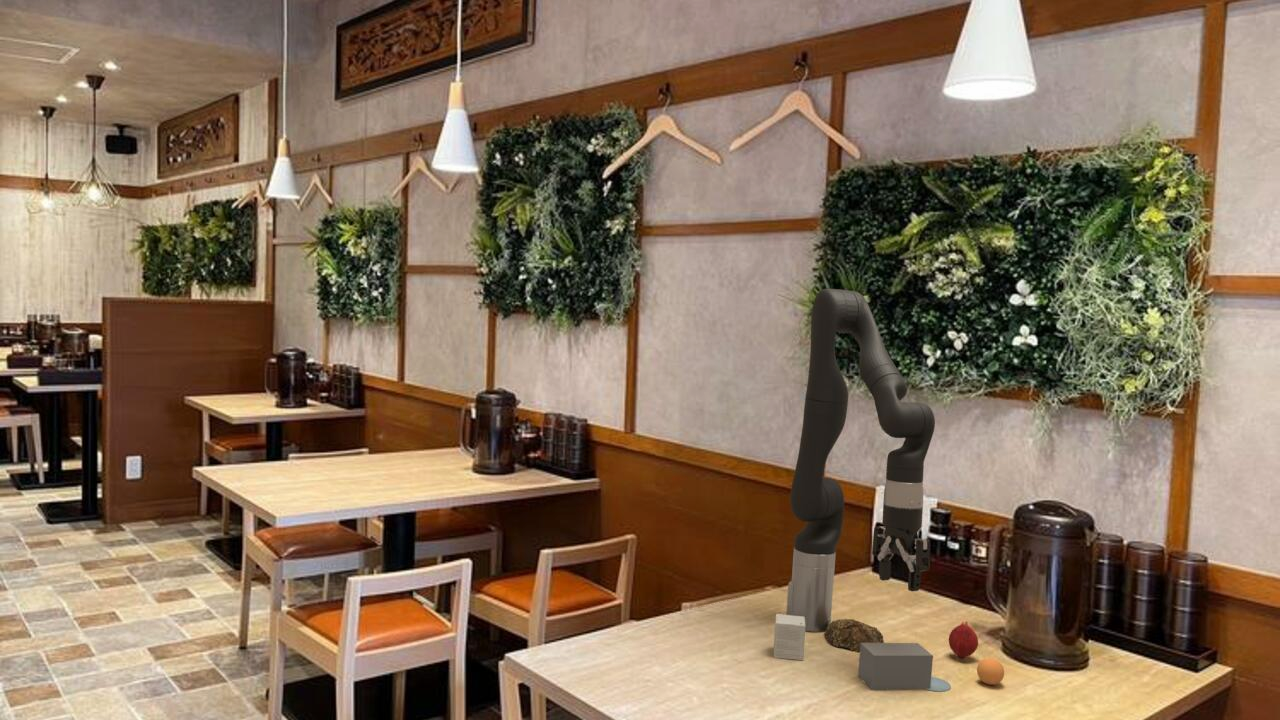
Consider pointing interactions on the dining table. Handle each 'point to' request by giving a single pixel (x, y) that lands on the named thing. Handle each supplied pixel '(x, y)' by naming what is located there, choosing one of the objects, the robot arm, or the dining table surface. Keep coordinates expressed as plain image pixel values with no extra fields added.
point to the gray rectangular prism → (895, 666)
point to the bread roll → (851, 634)
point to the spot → (939, 685)
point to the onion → (963, 640)
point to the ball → (990, 671)
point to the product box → (789, 637)
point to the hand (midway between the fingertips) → (898, 585)
